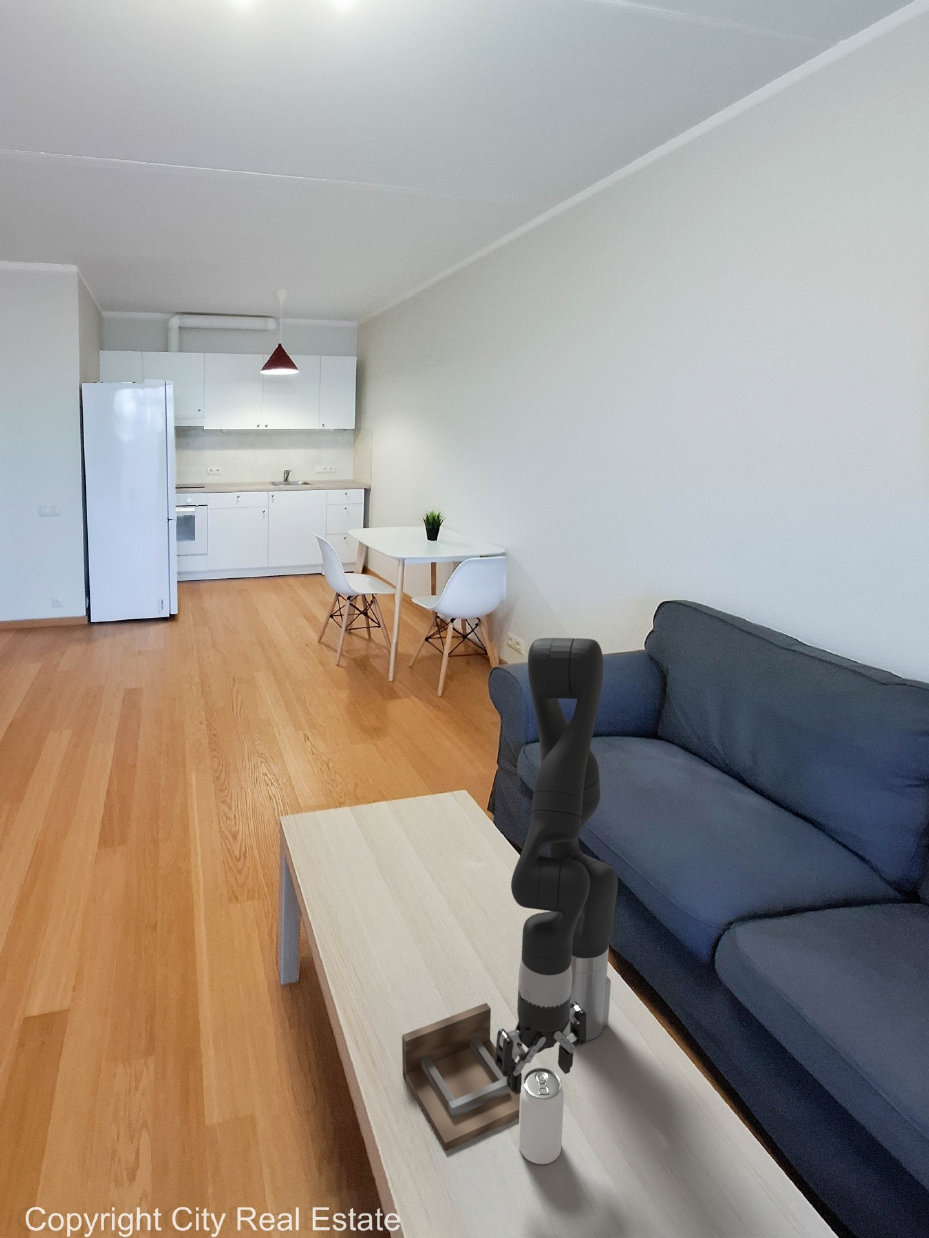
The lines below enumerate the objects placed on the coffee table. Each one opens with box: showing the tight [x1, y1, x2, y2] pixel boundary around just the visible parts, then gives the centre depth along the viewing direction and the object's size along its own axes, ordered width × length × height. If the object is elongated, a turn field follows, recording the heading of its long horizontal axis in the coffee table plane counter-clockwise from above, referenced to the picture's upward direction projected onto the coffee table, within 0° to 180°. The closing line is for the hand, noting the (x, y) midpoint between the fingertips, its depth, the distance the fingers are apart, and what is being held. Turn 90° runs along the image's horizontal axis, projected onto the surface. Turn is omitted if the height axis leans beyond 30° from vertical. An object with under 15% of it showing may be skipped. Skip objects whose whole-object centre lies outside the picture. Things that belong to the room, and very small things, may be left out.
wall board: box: [401, 1002, 523, 1152], centre depth 130 cm, size 16×16×8 cm
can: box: [518, 1067, 565, 1165], centre depth 120 cm, size 6×6×12 cm
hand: (539, 1079), depth 118 cm, fingers open, 8 cm apart
